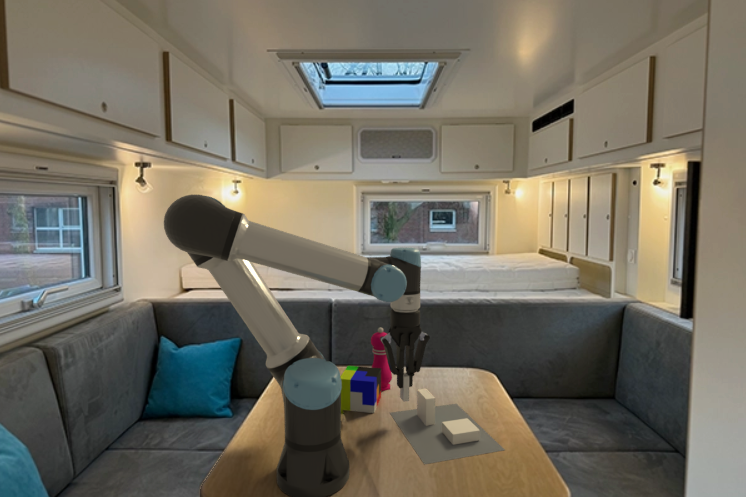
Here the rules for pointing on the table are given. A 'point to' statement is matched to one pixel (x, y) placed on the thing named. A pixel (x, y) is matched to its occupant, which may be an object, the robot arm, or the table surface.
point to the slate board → (441, 435)
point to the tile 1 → (426, 406)
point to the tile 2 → (460, 431)
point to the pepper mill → (381, 359)
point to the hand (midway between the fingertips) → (404, 398)
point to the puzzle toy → (360, 389)
